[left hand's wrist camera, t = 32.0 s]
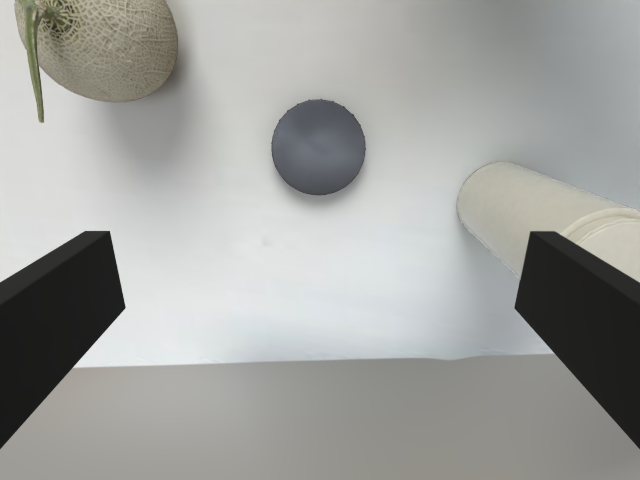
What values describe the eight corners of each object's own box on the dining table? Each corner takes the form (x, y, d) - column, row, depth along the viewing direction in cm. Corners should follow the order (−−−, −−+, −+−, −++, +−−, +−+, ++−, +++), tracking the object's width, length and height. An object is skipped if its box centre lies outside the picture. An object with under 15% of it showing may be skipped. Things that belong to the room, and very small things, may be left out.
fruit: (121, -67, 33) (-24, -180, 19) (217, 48, 36) (153, 23, 22) (46, 22, 36) (-131, -20, 22) (143, 123, 39) (43, 143, 25)
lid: (280, 197, 42) (279, 201, 40) (265, 105, 38) (262, 106, 37) (367, 186, 41) (369, 189, 40) (359, 92, 38) (361, 92, 36)
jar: (549, 171, 41) (714, 230, 24) (517, 244, 44) (644, 343, 27) (472, 153, 40) (586, 201, 23) (446, 229, 43) (528, 321, 26)
